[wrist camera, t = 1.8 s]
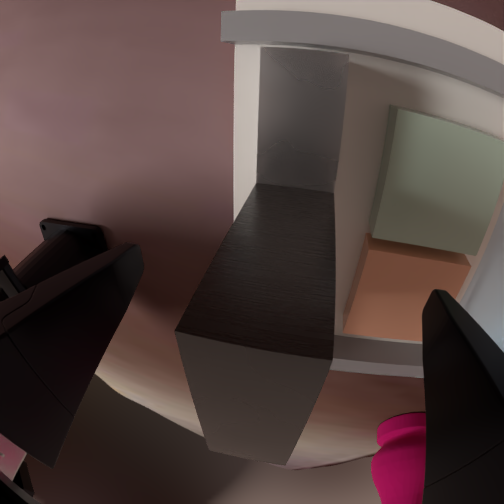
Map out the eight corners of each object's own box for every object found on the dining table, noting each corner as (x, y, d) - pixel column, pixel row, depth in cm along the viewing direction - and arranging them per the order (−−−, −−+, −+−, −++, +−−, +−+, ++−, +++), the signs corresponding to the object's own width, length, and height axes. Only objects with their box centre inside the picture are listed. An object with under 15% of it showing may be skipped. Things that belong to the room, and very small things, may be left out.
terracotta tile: (342, 314, 14) (342, 333, 13) (365, 232, 11) (368, 249, 10) (426, 324, 13) (430, 342, 12) (462, 249, 11) (471, 266, 10)
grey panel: (263, 322, 15) (218, 476, 9) (278, 53, 8) (137, 17, 2) (302, 329, 15) (273, 487, 8) (341, 59, 8) (406, 21, 1)
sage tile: (368, 221, 11) (371, 237, 10) (389, 104, 8) (397, 108, 7) (466, 239, 10) (476, 256, 9) (497, 136, 8) (512, 145, 7)
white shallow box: (247, 313, 20) (228, 370, 16) (255, -6, 9) (223, -36, 6) (409, 336, 18) (417, 393, 14) (496, 46, 7) (553, 49, 4)
